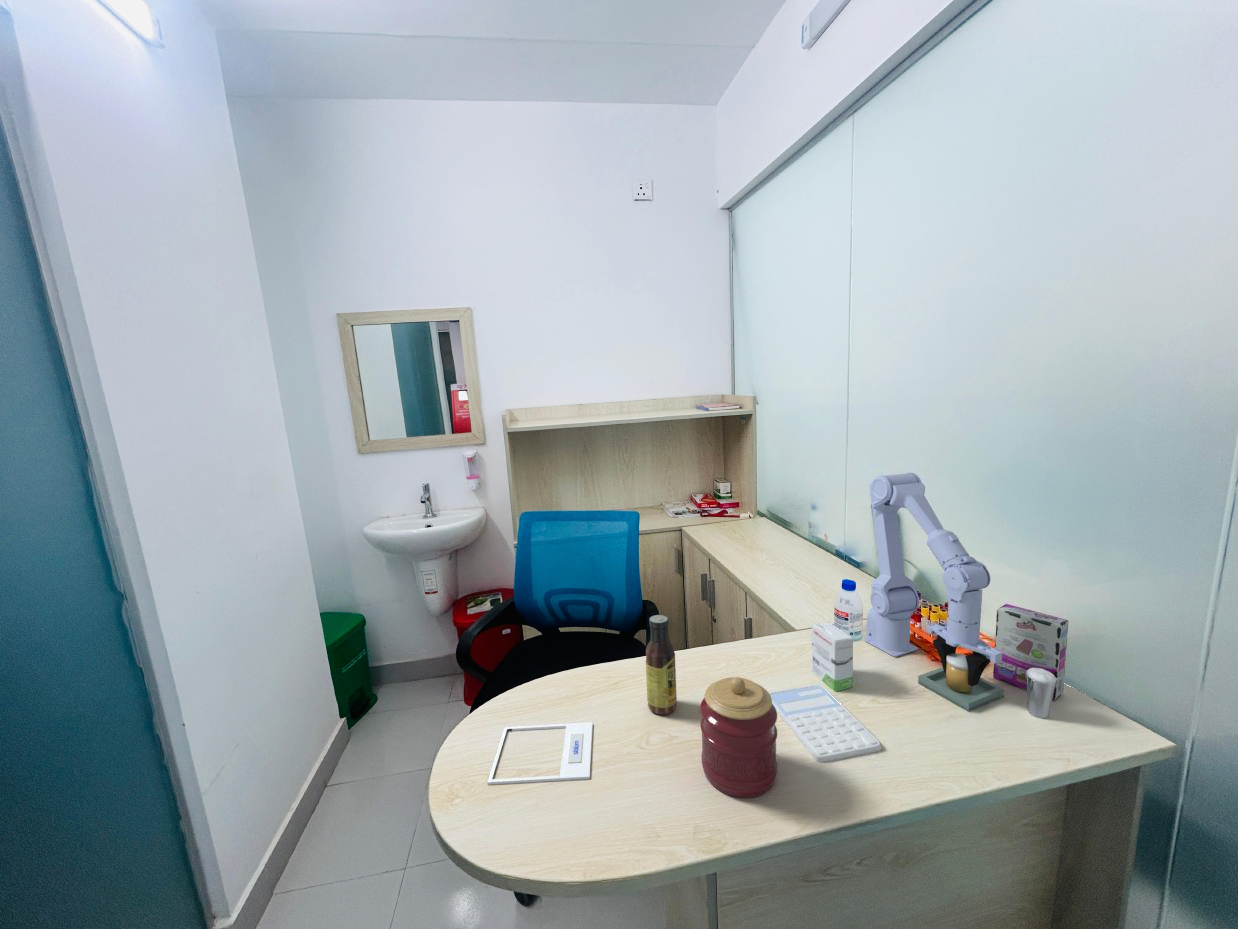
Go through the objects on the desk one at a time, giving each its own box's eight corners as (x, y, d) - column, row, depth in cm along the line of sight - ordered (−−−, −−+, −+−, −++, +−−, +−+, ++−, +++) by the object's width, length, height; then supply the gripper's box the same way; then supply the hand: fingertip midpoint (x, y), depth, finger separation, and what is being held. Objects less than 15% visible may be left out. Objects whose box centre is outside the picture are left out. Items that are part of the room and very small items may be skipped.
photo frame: (589, 775, 89) (487, 781, 89) (589, 781, 89) (487, 787, 89) (592, 721, 103) (504, 726, 103) (592, 726, 103) (504, 731, 103)
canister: (702, 797, 84) (699, 700, 81) (700, 743, 96) (698, 657, 94) (783, 803, 82) (783, 703, 79) (771, 746, 95) (770, 659, 92)
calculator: (817, 766, 90) (817, 756, 90) (765, 699, 109) (765, 691, 109) (883, 752, 92) (883, 743, 92) (820, 690, 112) (821, 682, 112)
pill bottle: (939, 681, 110) (941, 655, 109) (956, 677, 111) (958, 651, 110) (960, 694, 105) (962, 667, 104) (978, 689, 107) (980, 663, 106)
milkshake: (1059, 725, 96) (1063, 677, 95) (1023, 715, 100) (1027, 668, 98) (1057, 713, 100) (1061, 666, 98) (1023, 703, 103) (1026, 658, 102)
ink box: (853, 687, 111) (854, 637, 109) (834, 692, 110) (835, 641, 108) (828, 667, 119) (829, 620, 118) (810, 671, 118) (810, 624, 117)
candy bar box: (1063, 693, 106) (1070, 619, 103) (1055, 702, 103) (1061, 627, 101) (1001, 670, 115) (1005, 602, 113) (991, 677, 112) (996, 608, 110)
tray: (918, 683, 112) (918, 675, 111) (952, 670, 116) (952, 663, 115) (968, 711, 102) (968, 703, 101) (1003, 697, 106) (1004, 689, 105)
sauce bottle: (675, 717, 104) (672, 627, 101) (645, 715, 105) (641, 626, 102) (678, 698, 110) (675, 613, 107) (650, 696, 112) (646, 611, 109)
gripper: (918, 609, 111) (916, 666, 113) (987, 637, 98) (983, 701, 100) (940, 602, 114) (937, 658, 116) (1010, 629, 101) (1006, 692, 103)
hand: (960, 678), depth 108 cm, fingers closed on pill bottle, 5 cm apart
